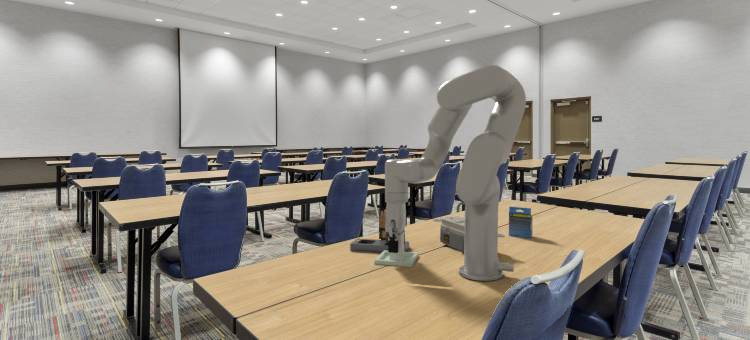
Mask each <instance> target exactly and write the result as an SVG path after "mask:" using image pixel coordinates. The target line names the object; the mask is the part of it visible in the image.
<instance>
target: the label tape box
mask: <svg viewBox="0 0 750 340" xmlns="http://www.w3.org/2000/svg"><path fill="white" fill-rule="evenodd" d="M508 210H509V211H508V236H509V237H517V236H518V237H519V238H520V237H521V238H528V239H529V238H530V239H531V238H532V237H533V215H532V208H530V207H519V206H509V209H508ZM519 210H520V211H519Z"/></svg>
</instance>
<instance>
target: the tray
mask: <svg viewBox="0 0 750 340" xmlns="http://www.w3.org/2000/svg"><path fill="white" fill-rule="evenodd" d="M418 257H419V252H415V251H407V252H404V259H403V261H392V260H390V253H389V252H388V250H384V251H383V252H382V253H380V254H379V255H377V257H376V258H375V259H374V263H373V264H374V265H382V266H383V265H384V266H395V267H407V268H408V267H410V268H411V267H412V266H413V265H414V264H415V262H416V260H417V259H418Z"/></svg>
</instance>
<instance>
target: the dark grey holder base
mask: <svg viewBox="0 0 750 340" xmlns="http://www.w3.org/2000/svg"><path fill="white" fill-rule="evenodd" d="M388 234H389V232H388V233H386V240H379V239H372V238H369V239H368V238H358V237H357V238H356V239H355V240H353V241H352V242H350V244H349V248H350V249H349V250H350V251H351V252H352V251H354V252H355V251H356V252H365V253H380V254H381V253H382V252H383V251H384V250H388ZM409 249H410V241H405V245H404V252H409Z"/></svg>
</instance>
